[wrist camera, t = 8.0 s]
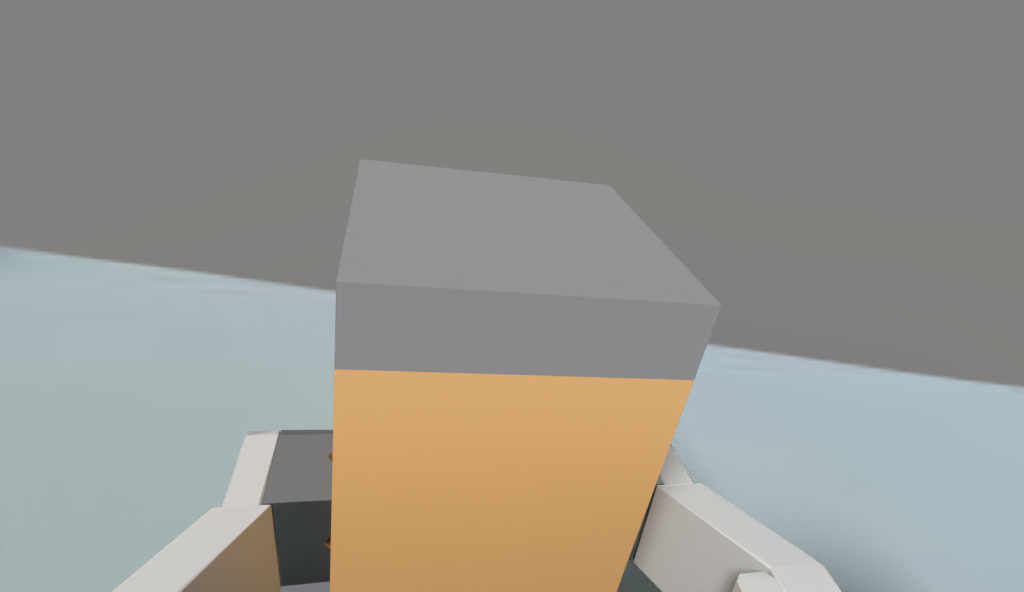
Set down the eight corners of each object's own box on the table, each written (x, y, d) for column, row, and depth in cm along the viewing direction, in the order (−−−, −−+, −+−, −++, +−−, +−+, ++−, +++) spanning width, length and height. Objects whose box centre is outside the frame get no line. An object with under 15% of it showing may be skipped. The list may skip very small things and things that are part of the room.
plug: (323, 896, 12) (336, 282, 6) (340, 687, 15) (360, 158, 9) (516, 866, 13) (721, 304, 6) (491, 675, 16) (609, 185, 10)
